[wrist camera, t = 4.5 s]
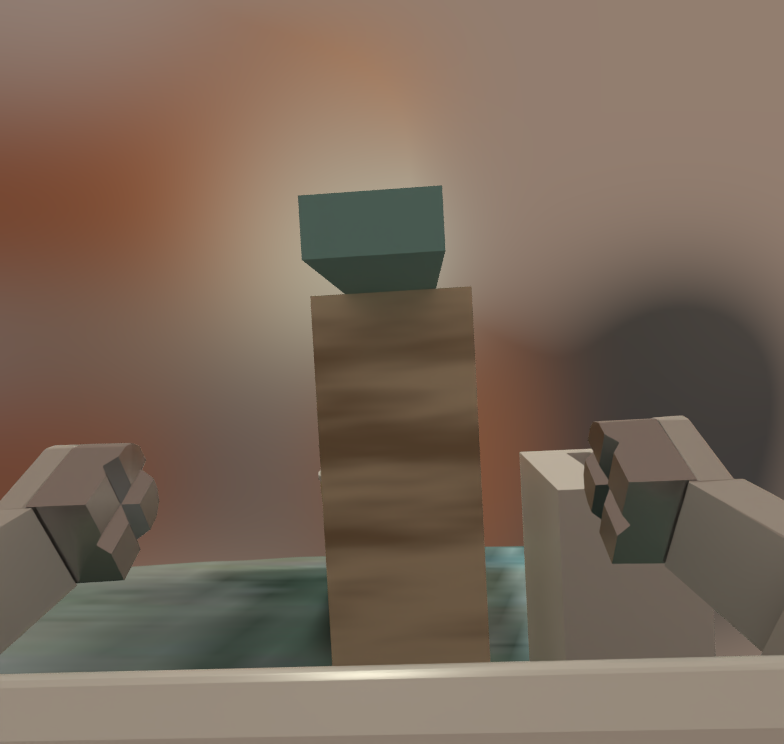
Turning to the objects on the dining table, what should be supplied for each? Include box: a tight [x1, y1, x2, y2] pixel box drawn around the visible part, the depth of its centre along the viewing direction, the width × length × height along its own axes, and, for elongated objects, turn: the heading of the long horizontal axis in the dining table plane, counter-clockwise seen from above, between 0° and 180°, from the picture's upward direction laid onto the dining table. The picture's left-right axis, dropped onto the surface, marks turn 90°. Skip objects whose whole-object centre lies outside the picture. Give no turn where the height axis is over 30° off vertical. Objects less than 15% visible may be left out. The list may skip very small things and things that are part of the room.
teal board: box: [298, 186, 445, 294], centre depth 31 cm, size 28×4×2 cm, turn 177°
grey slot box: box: [520, 449, 716, 661], centre depth 31 cm, size 10×7×16 cm
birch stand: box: [311, 287, 490, 666], centre depth 32 cm, size 10×8×26 cm
